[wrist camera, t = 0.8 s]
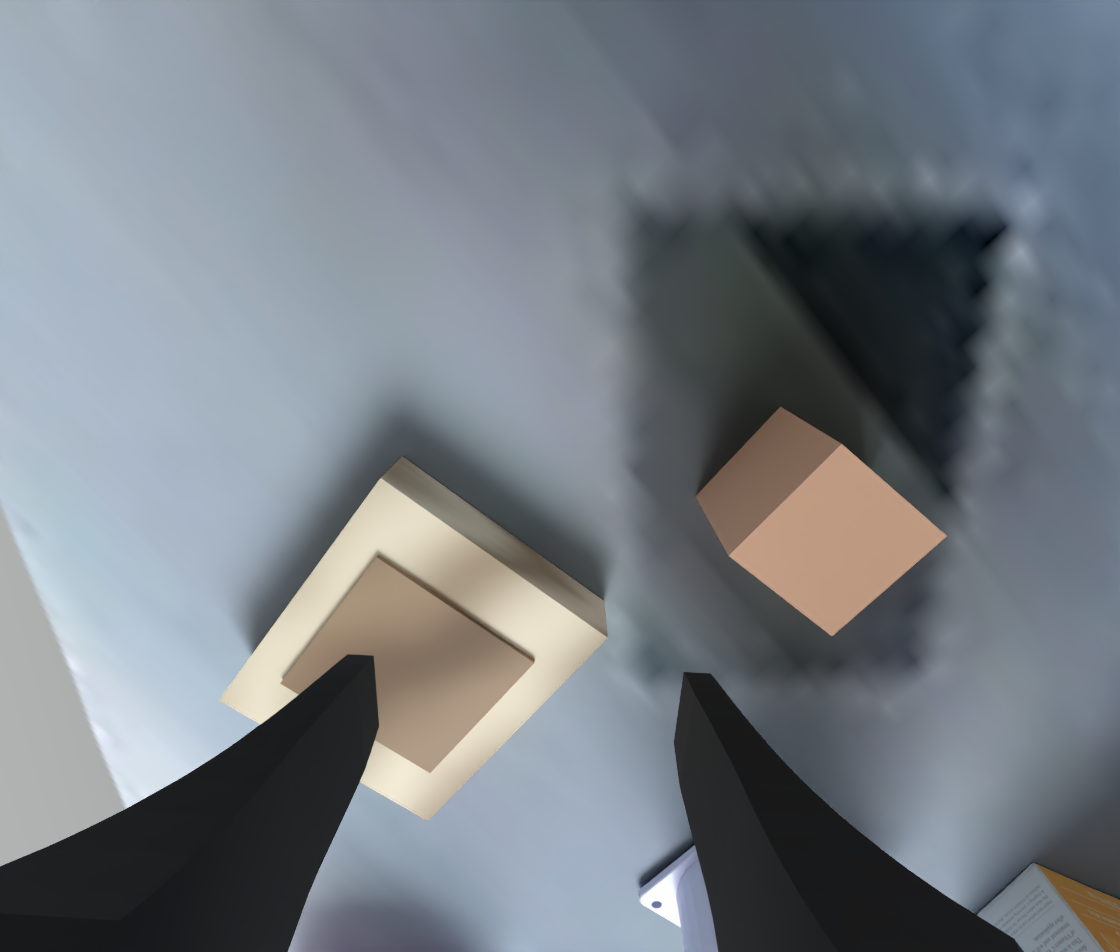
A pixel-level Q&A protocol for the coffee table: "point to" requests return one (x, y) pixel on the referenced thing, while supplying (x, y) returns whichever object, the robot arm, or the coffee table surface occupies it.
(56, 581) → the coffee table surface
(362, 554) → the birch base
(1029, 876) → the small box
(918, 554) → the terracotta cube
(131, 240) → the coffee table surface
